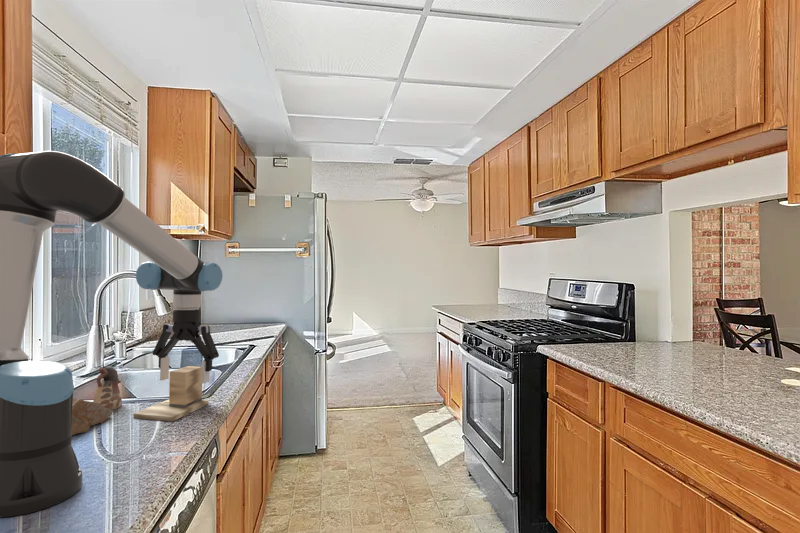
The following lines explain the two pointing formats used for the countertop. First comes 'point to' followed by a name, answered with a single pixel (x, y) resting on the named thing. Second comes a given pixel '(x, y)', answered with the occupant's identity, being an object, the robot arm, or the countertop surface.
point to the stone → (87, 415)
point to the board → (168, 411)
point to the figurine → (108, 389)
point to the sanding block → (185, 386)
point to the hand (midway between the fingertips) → (184, 381)
